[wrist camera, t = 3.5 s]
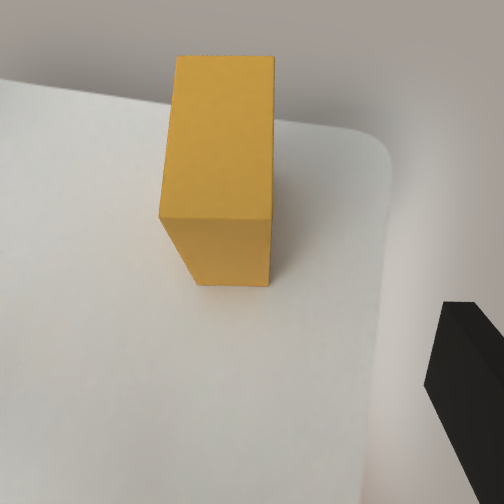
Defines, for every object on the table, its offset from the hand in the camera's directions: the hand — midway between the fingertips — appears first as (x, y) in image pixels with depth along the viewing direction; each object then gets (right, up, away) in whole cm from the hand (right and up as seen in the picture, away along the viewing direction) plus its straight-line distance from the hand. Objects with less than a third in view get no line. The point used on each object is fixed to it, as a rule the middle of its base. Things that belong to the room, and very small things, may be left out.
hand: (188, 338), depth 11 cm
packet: (+1, +4, +16) cm, 16 cm away
